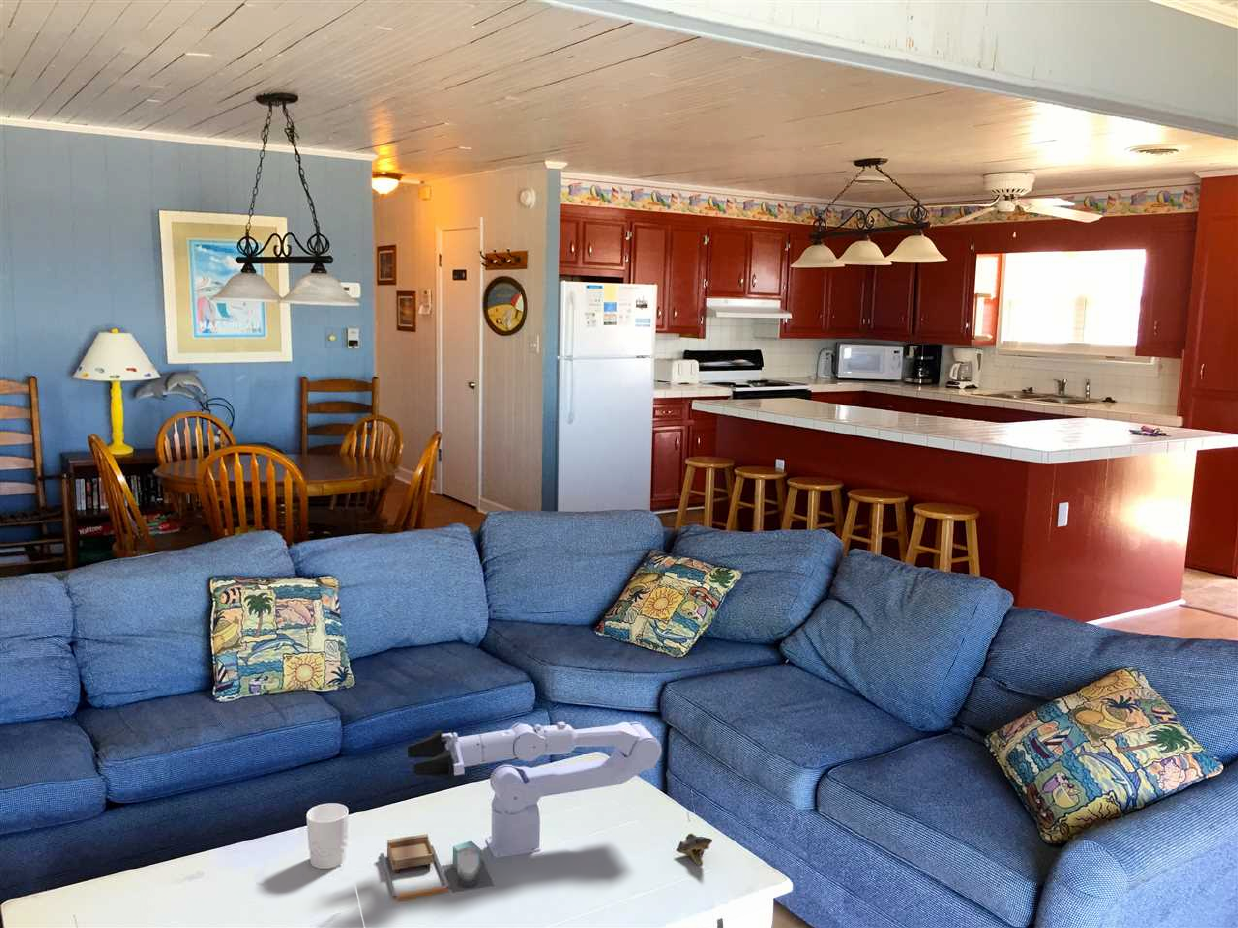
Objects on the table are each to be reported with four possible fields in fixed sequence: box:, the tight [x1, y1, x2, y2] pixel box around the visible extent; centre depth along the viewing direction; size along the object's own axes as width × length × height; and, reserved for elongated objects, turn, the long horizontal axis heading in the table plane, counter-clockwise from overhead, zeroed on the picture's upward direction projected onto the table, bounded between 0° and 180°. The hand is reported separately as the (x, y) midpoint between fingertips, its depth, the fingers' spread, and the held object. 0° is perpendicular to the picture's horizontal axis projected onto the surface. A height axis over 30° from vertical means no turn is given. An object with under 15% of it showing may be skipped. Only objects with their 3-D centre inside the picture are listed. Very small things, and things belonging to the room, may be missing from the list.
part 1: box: [452, 840, 482, 869], centre depth 196 cm, size 4×4×4 cm
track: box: [379, 845, 450, 902], centre depth 194 cm, size 10×17×1 cm, turn 21°
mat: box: [441, 858, 495, 894], centre depth 194 cm, size 8×10×1 cm
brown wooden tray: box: [386, 833, 435, 874], centre depth 198 cm, size 8×8×4 cm
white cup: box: [305, 802, 349, 870], centre depth 198 cm, size 8×8×10 cm
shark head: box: [676, 833, 713, 866], centre depth 202 cm, size 8×6×7 cm
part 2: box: [457, 847, 479, 888], centre depth 191 cm, size 4×4×6 cm
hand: (410, 760), depth 196 cm, fingers open, 7 cm apart
